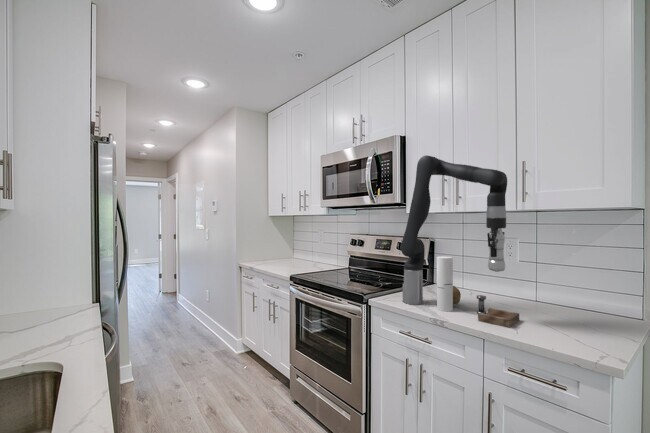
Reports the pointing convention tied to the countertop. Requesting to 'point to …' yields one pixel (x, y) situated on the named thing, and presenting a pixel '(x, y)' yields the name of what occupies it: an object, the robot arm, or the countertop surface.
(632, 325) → the countertop surface
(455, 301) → the natural sponge
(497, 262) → the plastic bottle
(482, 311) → the bobbin post
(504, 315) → the wooden tray
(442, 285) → the cylindrical container
